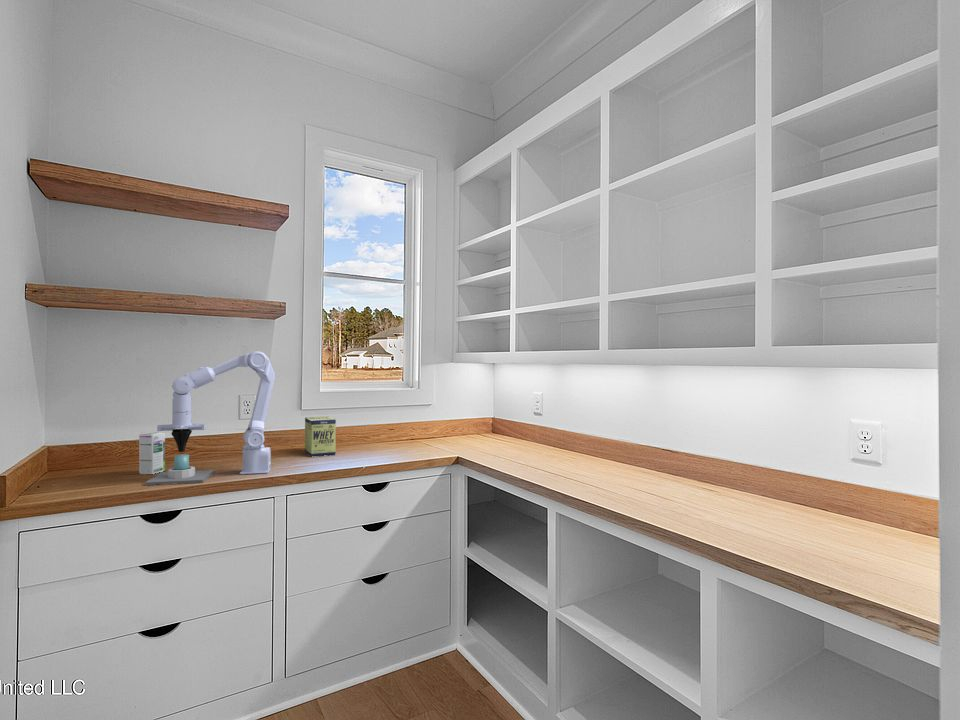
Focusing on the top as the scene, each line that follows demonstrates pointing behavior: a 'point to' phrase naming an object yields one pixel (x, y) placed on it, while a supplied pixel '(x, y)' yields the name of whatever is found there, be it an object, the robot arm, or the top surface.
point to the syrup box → (151, 453)
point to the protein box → (320, 436)
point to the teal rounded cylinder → (181, 462)
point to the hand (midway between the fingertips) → (181, 451)
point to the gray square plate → (180, 476)
